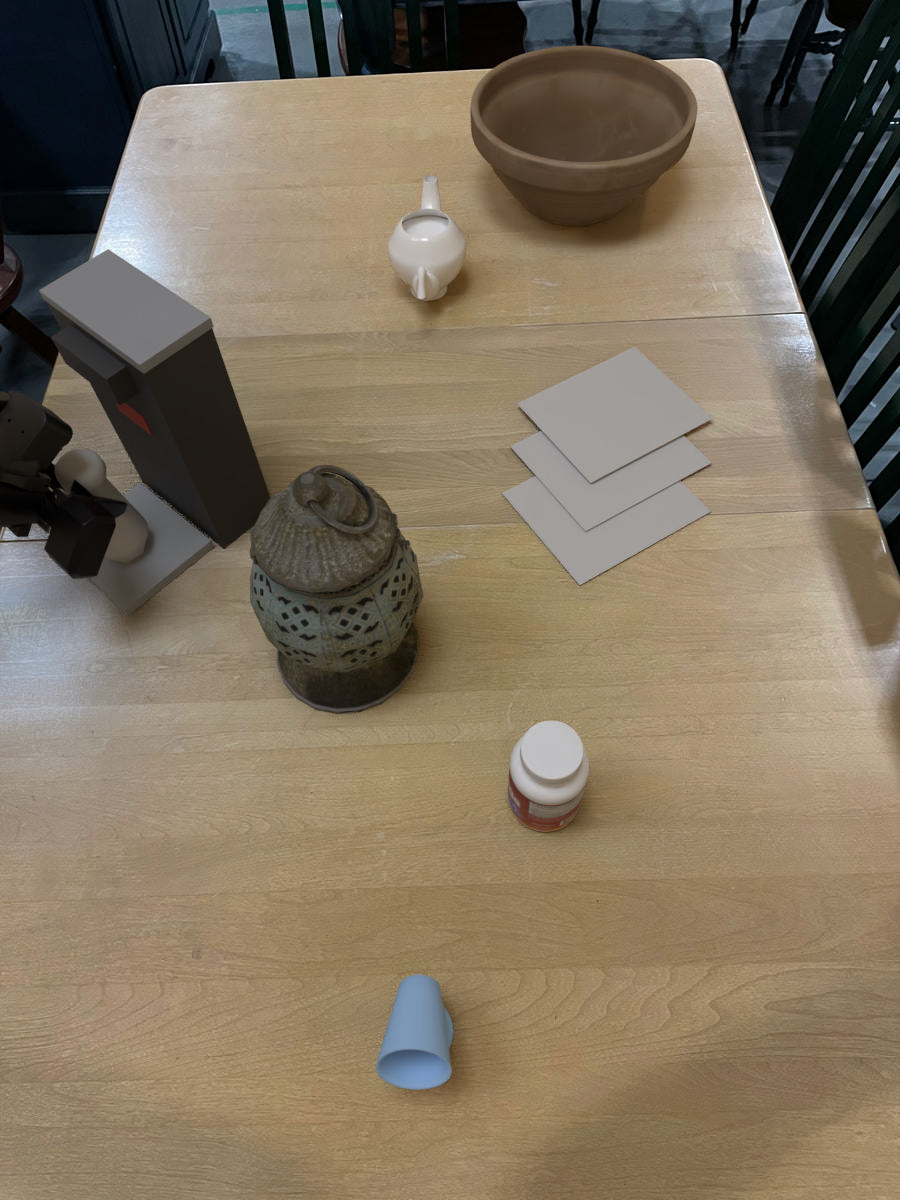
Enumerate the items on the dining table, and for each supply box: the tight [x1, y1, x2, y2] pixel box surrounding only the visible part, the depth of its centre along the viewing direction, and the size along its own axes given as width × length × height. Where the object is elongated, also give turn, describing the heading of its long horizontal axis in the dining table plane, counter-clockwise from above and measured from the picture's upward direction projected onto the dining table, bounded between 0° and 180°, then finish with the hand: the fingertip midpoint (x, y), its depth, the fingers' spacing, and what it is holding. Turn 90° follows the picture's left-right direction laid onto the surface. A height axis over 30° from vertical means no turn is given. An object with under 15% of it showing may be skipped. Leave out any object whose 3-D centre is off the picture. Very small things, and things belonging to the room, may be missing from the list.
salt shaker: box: [54, 448, 148, 563], centre depth 81 cm, size 6×6×13 cm
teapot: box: [387, 174, 467, 302], centre depth 104 cm, size 10×20×9 cm, turn 177°
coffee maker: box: [38, 248, 272, 616], centre depth 79 cm, size 19×14×25 cm
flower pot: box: [469, 45, 698, 227], centre depth 112 cm, size 28×28×13 cm
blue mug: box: [375, 974, 455, 1091], centre depth 59 cm, size 5×10×7 cm
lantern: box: [249, 464, 424, 715], centre depth 70 cm, size 14×14×25 cm
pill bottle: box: [507, 720, 590, 833], centre depth 68 cm, size 6×6×11 cm
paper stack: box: [501, 346, 714, 586], centre depth 92 cm, size 23×25×1 cm
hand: (114, 498), depth 82 cm, fingers closed on salt shaker, 3 cm apart
